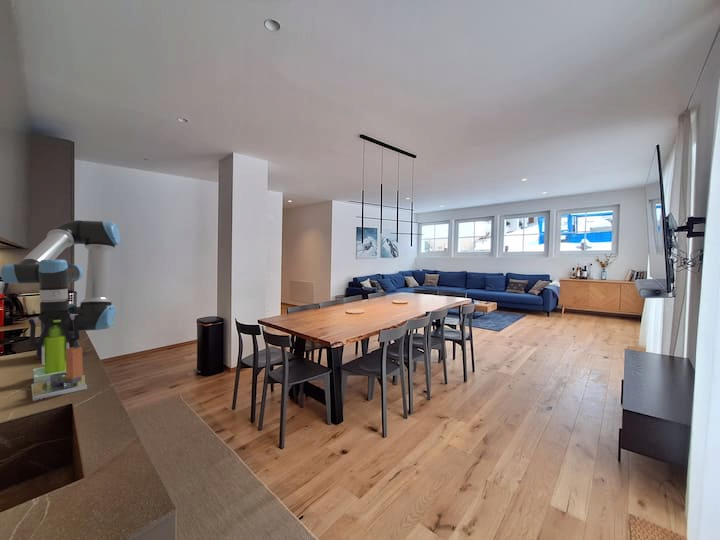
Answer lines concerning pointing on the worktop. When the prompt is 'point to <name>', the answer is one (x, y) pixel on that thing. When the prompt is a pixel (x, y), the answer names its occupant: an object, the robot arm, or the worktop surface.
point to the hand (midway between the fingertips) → (55, 361)
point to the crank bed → (55, 389)
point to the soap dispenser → (55, 350)
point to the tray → (42, 375)
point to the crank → (70, 368)
